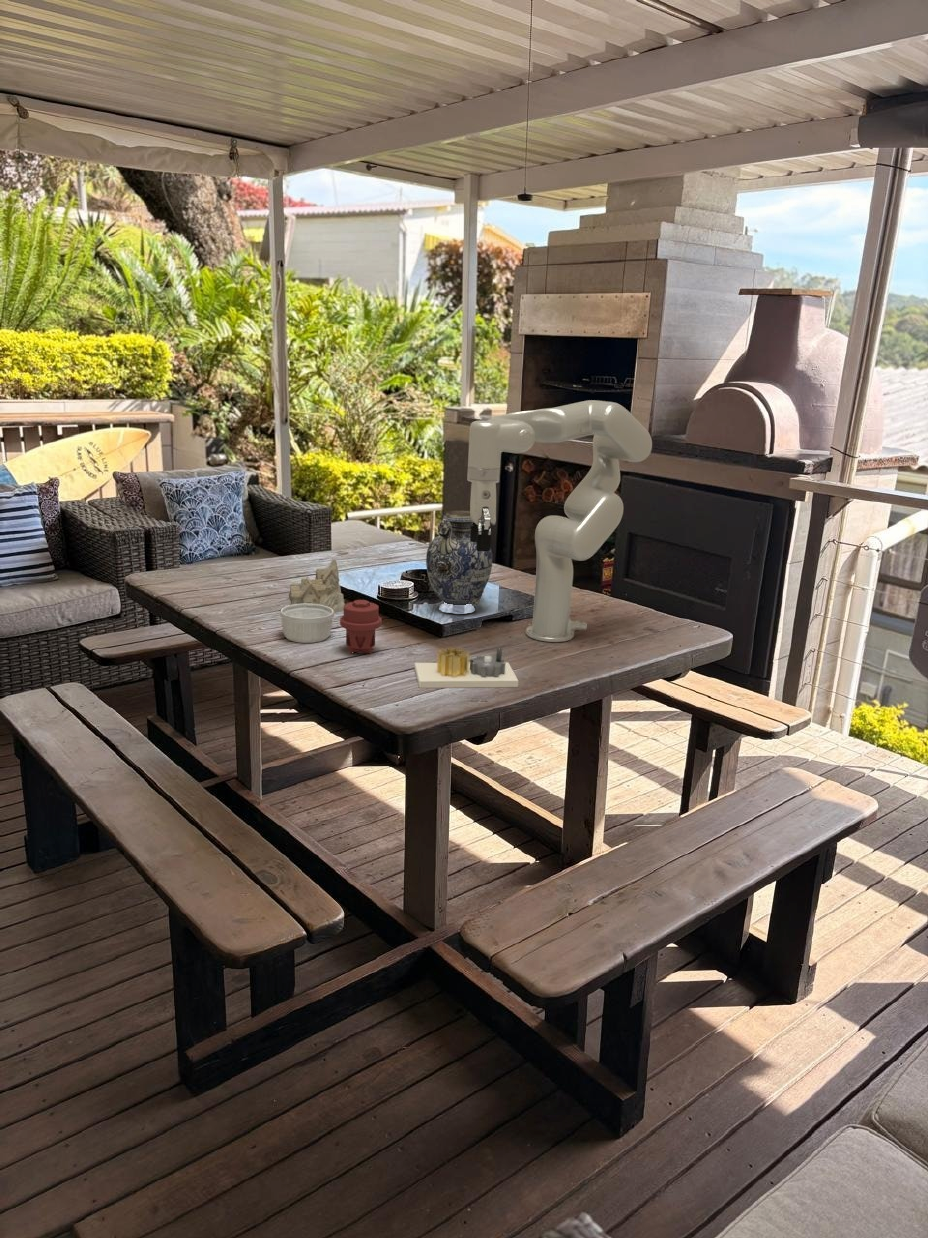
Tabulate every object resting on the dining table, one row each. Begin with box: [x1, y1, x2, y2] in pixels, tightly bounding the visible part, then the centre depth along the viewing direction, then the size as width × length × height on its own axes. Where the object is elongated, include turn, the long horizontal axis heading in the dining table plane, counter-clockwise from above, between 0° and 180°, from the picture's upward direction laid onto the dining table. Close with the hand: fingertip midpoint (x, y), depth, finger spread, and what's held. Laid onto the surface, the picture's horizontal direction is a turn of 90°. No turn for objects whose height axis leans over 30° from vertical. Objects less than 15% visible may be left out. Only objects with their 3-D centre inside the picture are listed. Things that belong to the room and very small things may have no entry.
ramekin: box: [279, 603, 335, 644], centre depth 230 cm, size 13×13×7 cm
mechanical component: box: [339, 599, 383, 654], centre depth 221 cm, size 12×10×10 cm
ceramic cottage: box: [288, 558, 346, 614], centre depth 255 cm, size 16×16×15 cm
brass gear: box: [436, 647, 470, 677], centre depth 206 cm, size 7×7×4 cm
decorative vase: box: [425, 510, 493, 605], centre depth 256 cm, size 21×19×28 cm
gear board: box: [414, 647, 519, 689], centre depth 207 cm, size 22×12×7 cm, turn 98°
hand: (479, 546), depth 219 cm, fingers open, 9 cm apart
